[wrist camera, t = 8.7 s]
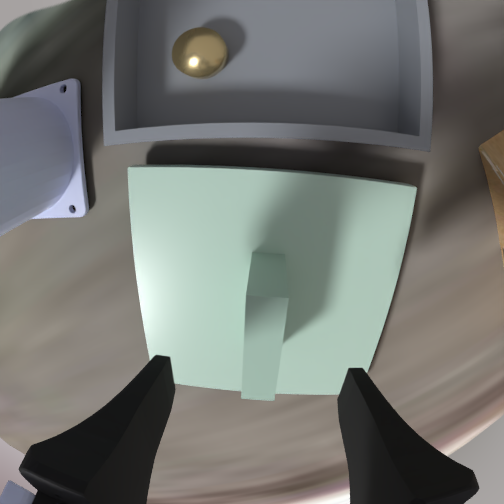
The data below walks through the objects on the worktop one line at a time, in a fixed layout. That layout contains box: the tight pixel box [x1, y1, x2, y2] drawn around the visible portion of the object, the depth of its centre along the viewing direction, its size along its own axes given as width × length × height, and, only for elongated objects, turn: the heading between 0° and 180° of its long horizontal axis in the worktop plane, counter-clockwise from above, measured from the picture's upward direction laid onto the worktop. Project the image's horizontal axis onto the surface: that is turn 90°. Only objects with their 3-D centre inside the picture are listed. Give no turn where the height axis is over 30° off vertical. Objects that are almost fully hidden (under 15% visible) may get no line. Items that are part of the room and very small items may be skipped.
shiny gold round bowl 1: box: [172, 27, 229, 79], centre depth 12 cm, size 2×2×1 cm
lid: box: [128, 165, 417, 401], centre depth 16 cm, size 14×14×5 cm
